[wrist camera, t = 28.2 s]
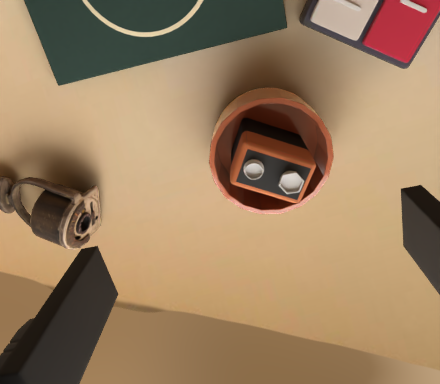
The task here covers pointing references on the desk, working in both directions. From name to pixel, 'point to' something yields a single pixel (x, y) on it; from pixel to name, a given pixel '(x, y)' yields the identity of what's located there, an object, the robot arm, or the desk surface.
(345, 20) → the calculator
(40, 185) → the brown metal piece
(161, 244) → the desk surface
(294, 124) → the terracotta bowl
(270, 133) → the battery
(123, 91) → the desk surface
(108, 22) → the desk mat
